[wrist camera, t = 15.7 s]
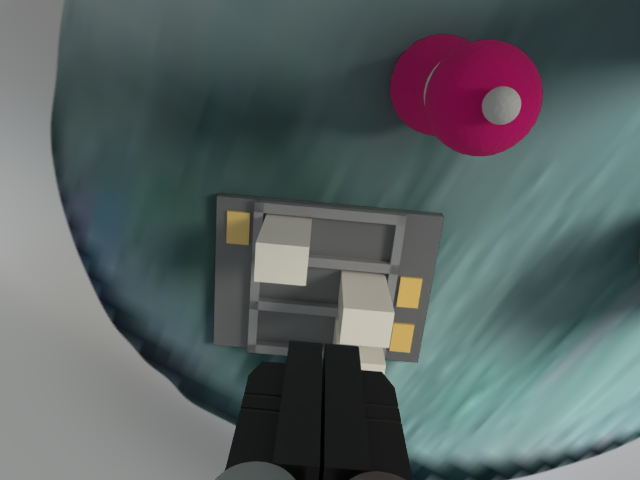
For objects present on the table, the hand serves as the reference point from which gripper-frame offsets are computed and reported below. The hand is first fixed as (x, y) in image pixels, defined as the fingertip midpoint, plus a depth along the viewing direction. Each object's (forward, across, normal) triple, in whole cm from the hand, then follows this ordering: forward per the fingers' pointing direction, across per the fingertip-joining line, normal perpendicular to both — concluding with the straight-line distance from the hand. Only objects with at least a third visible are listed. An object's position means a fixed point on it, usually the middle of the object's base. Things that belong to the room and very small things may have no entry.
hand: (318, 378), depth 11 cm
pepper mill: (+35, -8, -5) cm, 36 cm away
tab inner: (+34, +2, +9) cm, 35 cm away
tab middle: (+34, -4, +14) cm, 37 cm away
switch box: (+35, -1, +14) cm, 38 cm away
